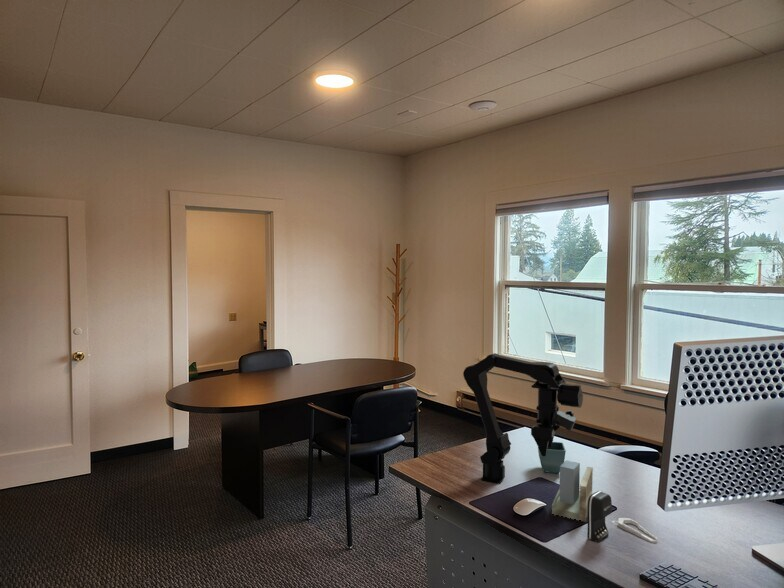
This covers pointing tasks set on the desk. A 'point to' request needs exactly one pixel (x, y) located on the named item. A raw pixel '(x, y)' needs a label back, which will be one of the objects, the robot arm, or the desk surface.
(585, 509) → the cream open holder
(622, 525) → the white looped flat piece
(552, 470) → the flower pot
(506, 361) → the robot arm
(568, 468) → the cabinet block
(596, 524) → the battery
